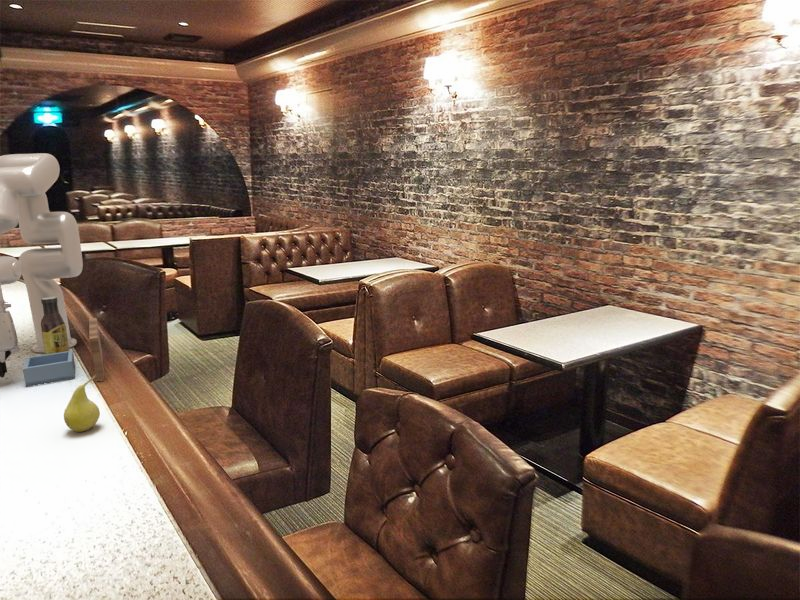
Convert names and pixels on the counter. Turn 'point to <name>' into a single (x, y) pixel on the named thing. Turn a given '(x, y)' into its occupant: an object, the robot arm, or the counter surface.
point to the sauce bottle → (53, 327)
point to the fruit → (81, 410)
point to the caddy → (49, 368)
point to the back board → (96, 349)
